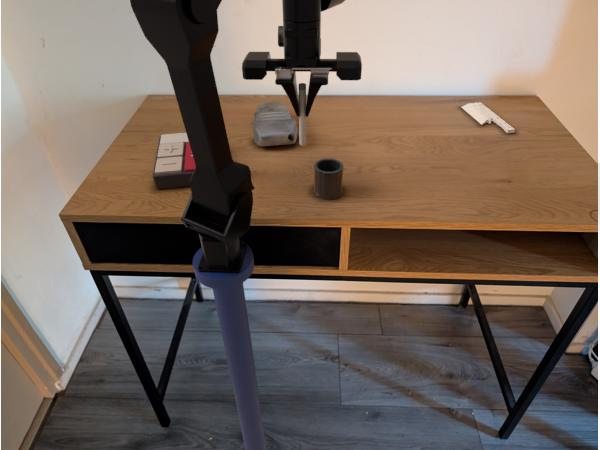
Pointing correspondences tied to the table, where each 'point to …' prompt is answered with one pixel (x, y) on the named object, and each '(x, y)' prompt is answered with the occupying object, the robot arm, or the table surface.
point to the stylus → (302, 114)
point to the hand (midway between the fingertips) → (302, 115)
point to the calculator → (173, 162)
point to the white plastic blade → (486, 116)
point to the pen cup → (328, 178)
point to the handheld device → (273, 125)
